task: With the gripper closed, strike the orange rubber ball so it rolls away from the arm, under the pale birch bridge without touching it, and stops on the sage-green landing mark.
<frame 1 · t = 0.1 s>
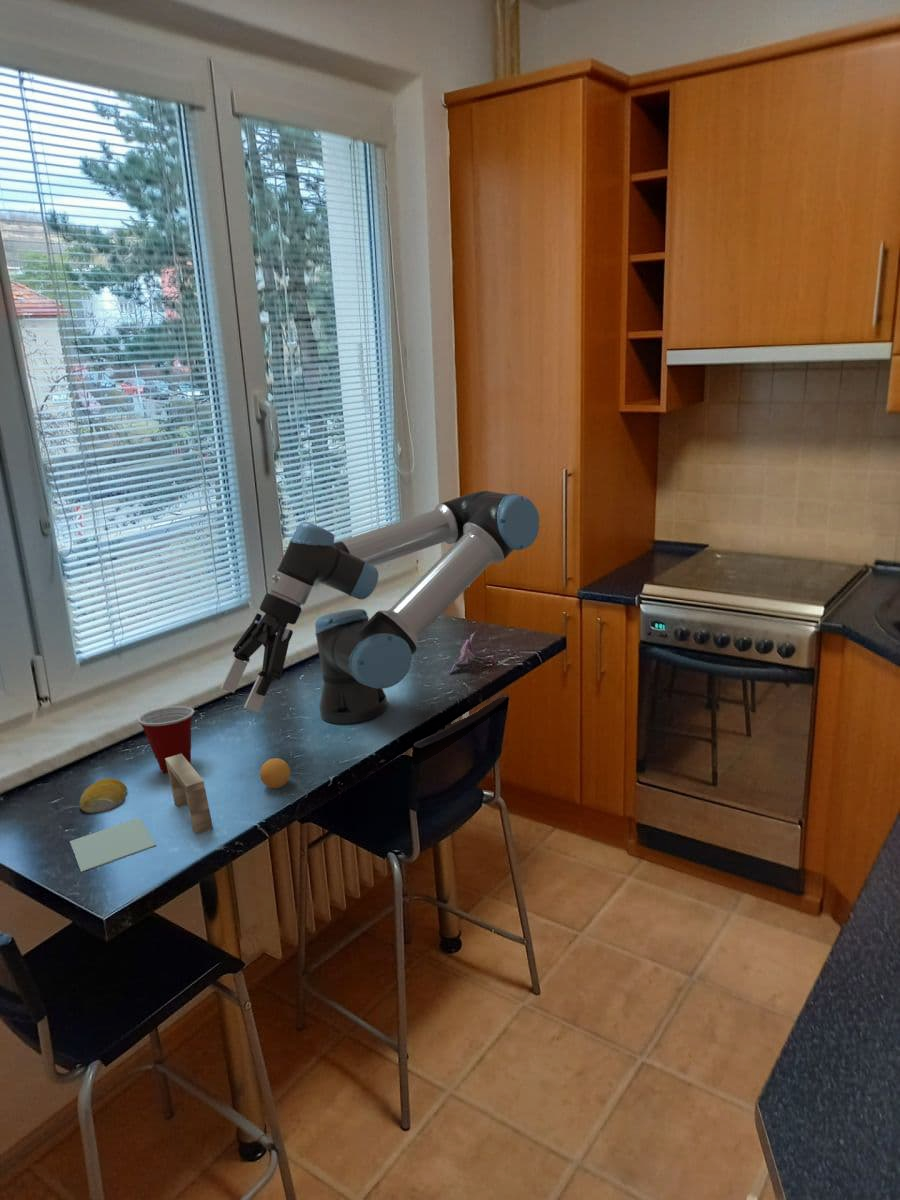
hand: (238, 700, 165), 15 cm above the breakfast bar, tool tilted 35°, fingers open, 13 cm apart
landing mark: (112, 843, 147), on the breakfast bar
plastic cup: (177, 768, 175), on the breakfast bar
lily: (467, 669, 213), on the breakfast bar
bridge: (193, 815, 154), on the breakfast bar
ball: (275, 773, 161), on the breakfast bar
bread roll: (105, 803, 164), on the breakfast bar
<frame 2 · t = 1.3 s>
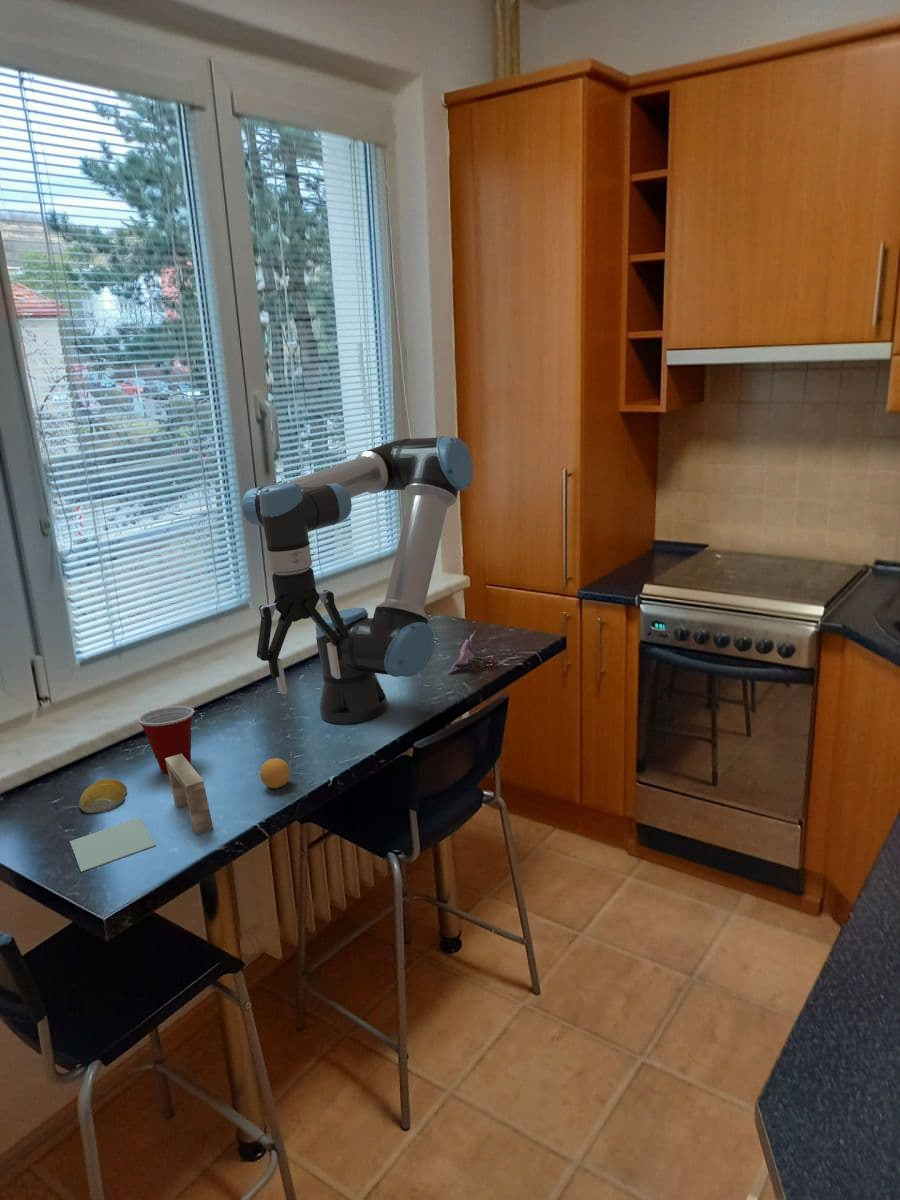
hand: (309, 684, 162), 18 cm above the breakfast bar, tool pointing down, fingers open, 10 cm apart
nothing on the breakfast bar moved.
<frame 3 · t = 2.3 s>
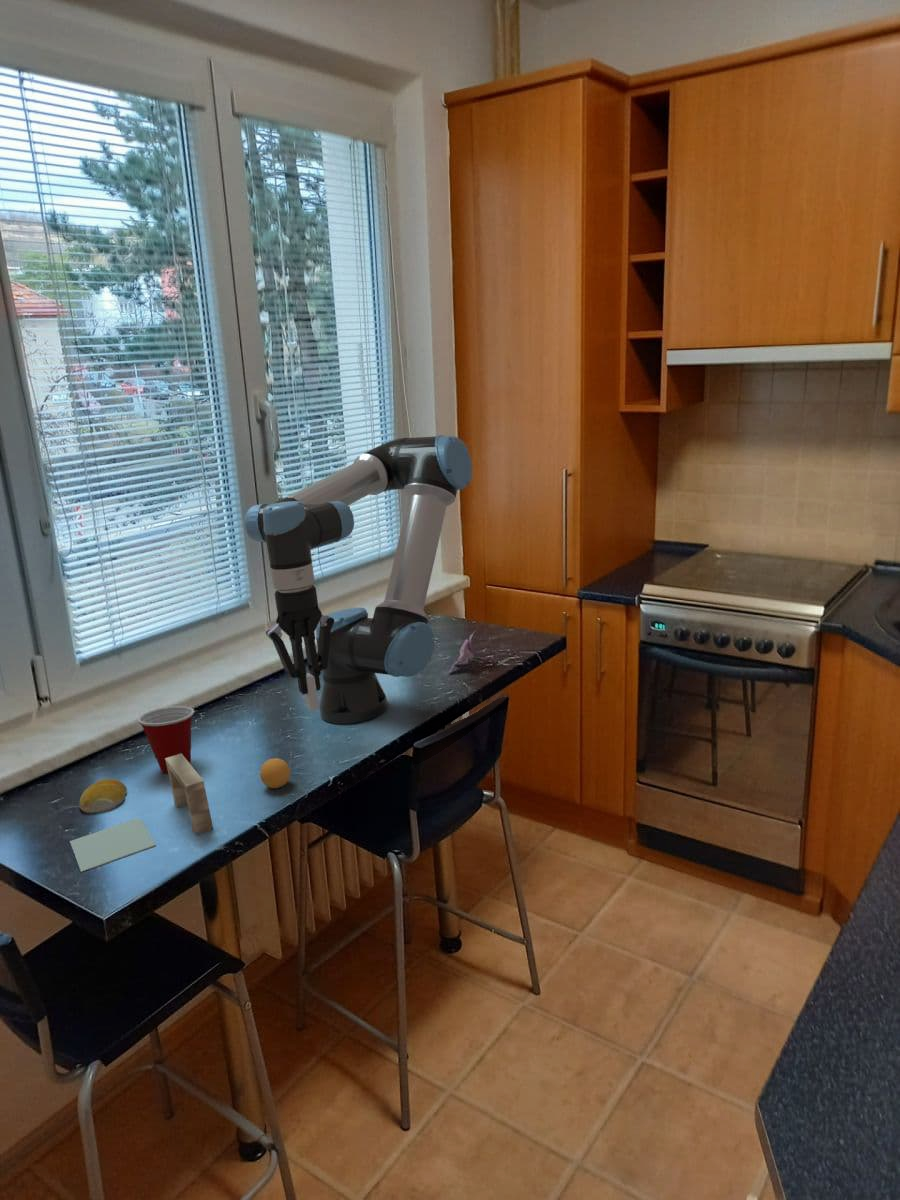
hand: (312, 707, 163), 13 cm above the breakfast bar, tool pointing down, fingers closed
nothing on the breakfast bar moved.
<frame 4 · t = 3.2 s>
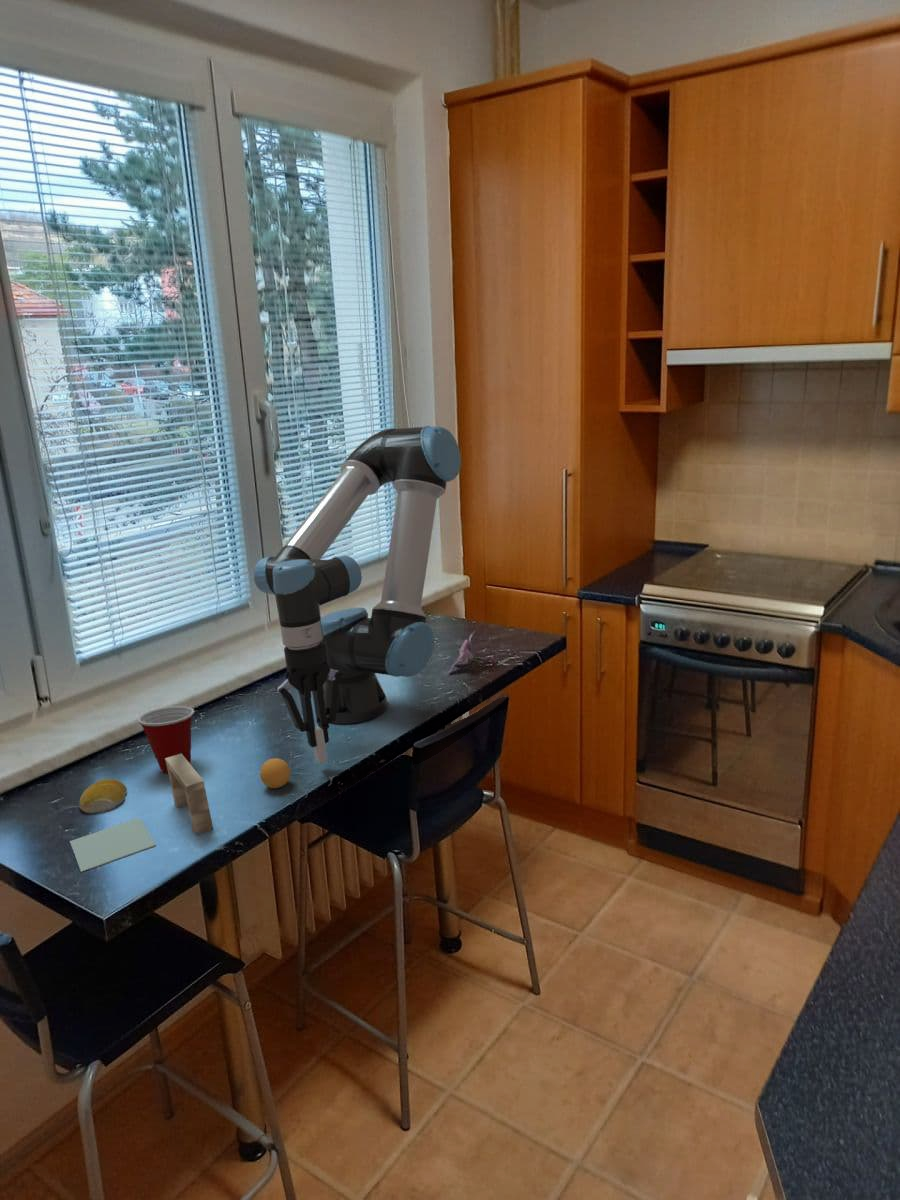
hand: (321, 759, 166), 2 cm above the breakfast bar, tool pointing down, fingers closed
nothing on the breakfast bar moved.
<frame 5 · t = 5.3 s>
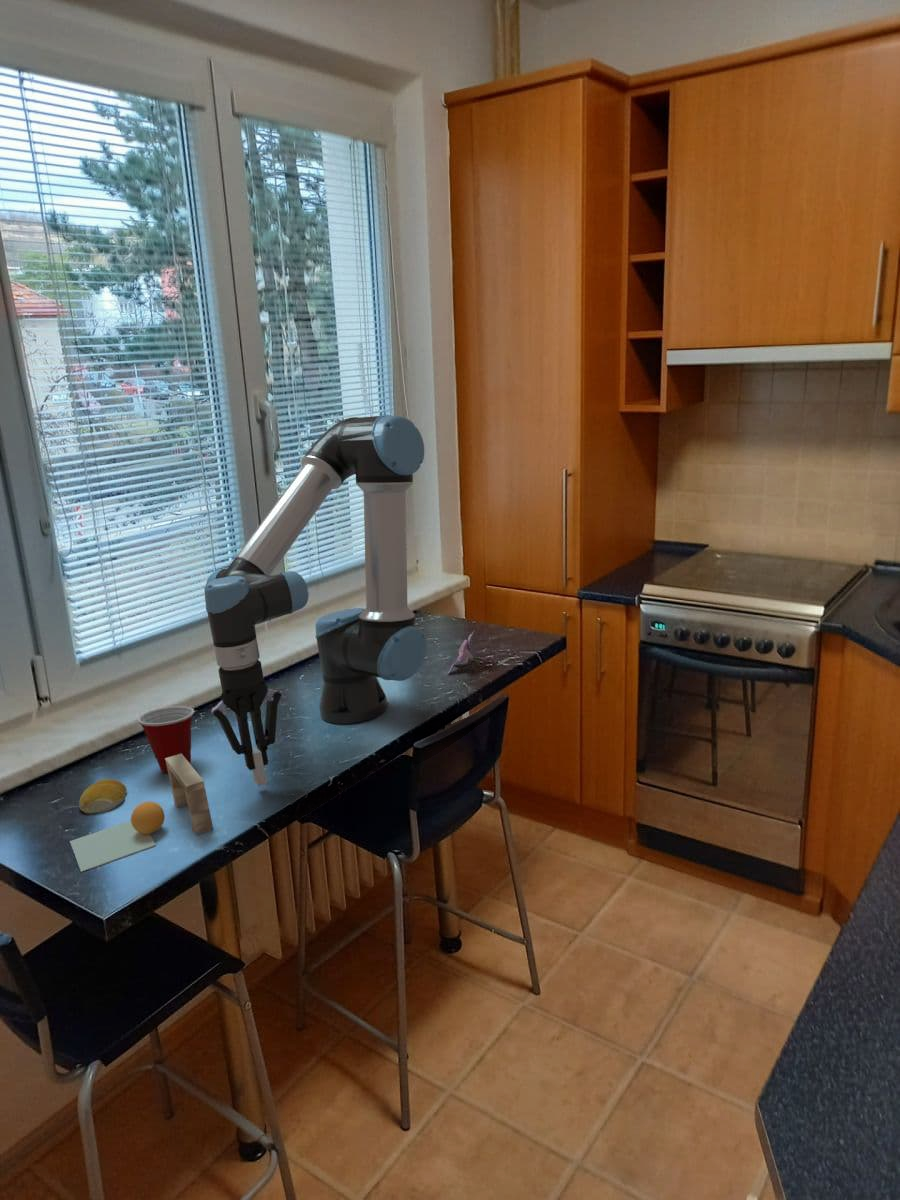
hand: (260, 782, 160), 2 cm above the breakfast bar, tool pointing down, fingers closed
ball: (147, 817, 149), on the breakfast bar
everything else where it was.
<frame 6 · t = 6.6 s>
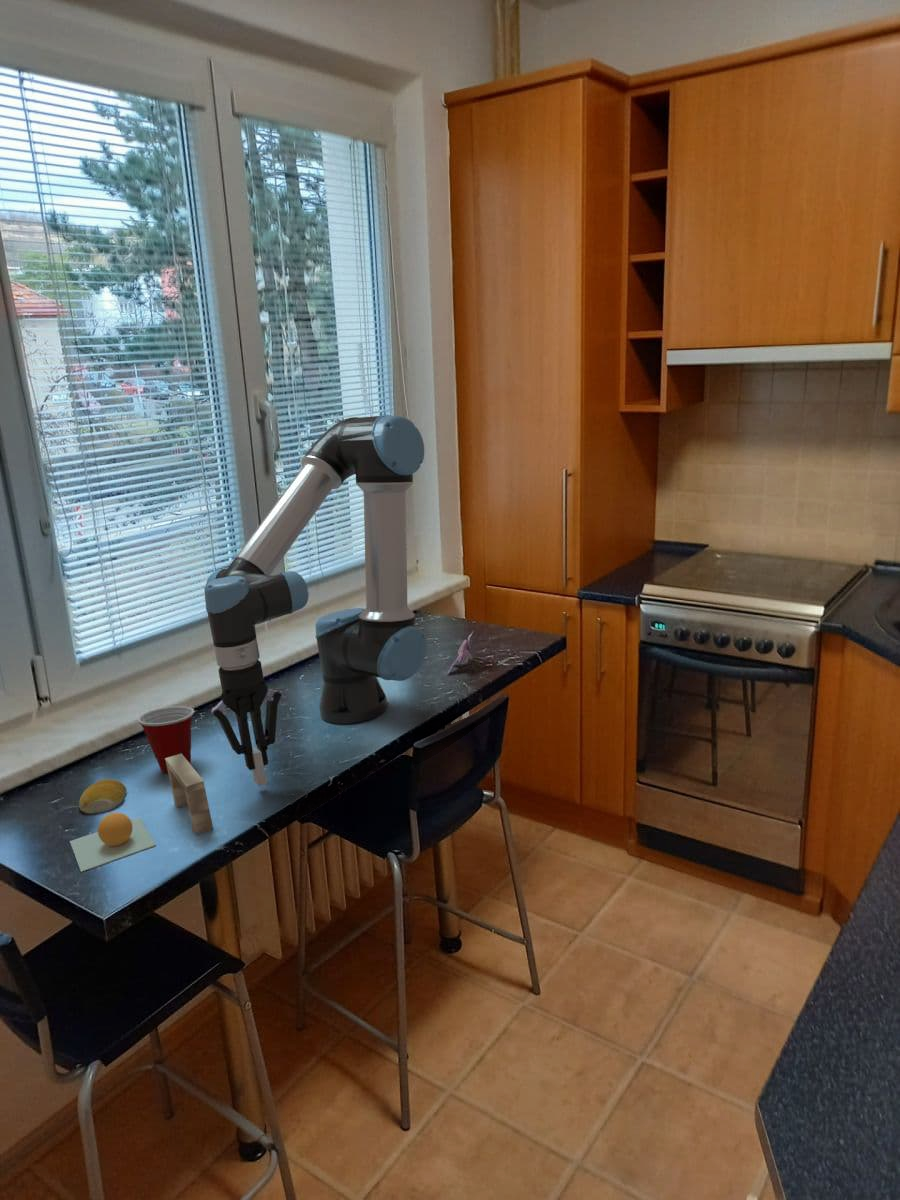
hand: (260, 782, 160), 2 cm above the breakfast bar, tool pointing down, fingers closed
ball: (115, 829, 147), on the breakfast bar
everything else where it was.
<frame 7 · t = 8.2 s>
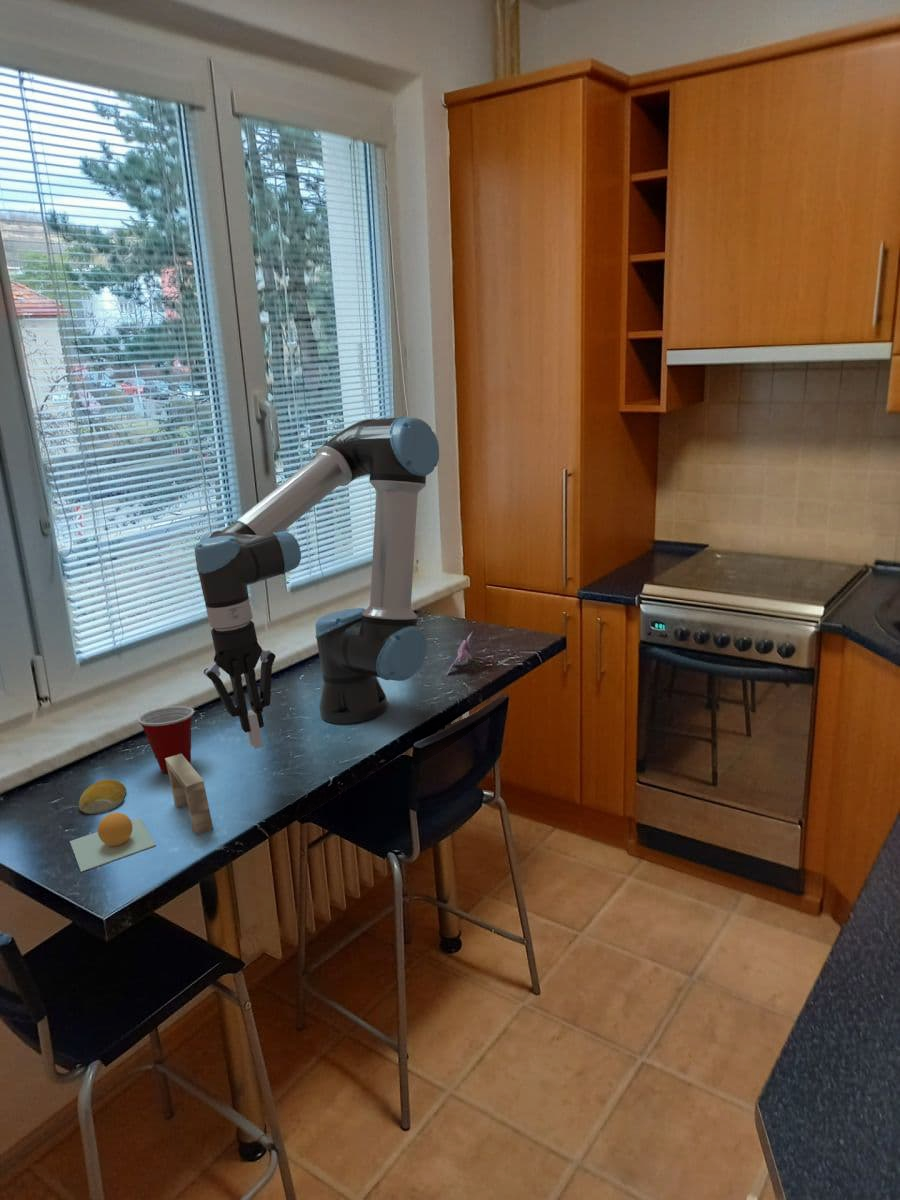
hand: (256, 745, 158), 9 cm above the breakfast bar, tool pointing down, fingers closed
nothing on the breakfast bar moved.
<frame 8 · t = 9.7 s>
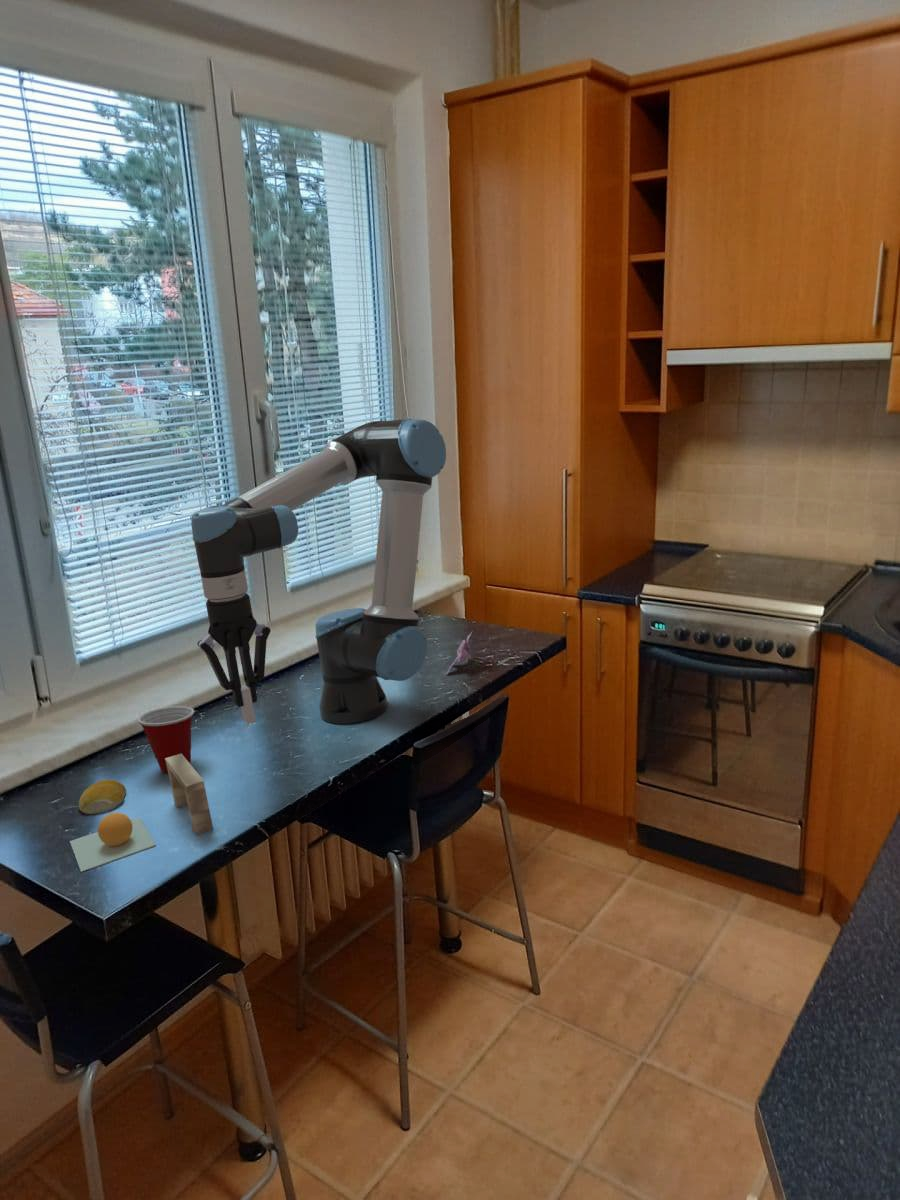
hand: (249, 720, 157), 14 cm above the breakfast bar, tool pointing down, fingers closed
nothing on the breakfast bar moved.
at the end: ball 1.1 cm from the landing mark (horizontally); ball never touched bridge; ball at rest at the end (0.0 cm/s) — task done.
